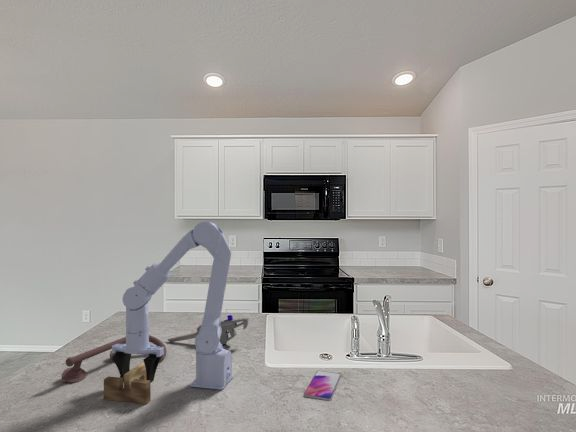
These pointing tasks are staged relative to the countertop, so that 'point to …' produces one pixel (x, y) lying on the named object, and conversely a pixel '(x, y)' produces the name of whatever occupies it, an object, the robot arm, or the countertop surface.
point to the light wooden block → (135, 375)
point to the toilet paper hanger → (78, 373)
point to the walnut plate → (127, 390)
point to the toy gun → (226, 326)
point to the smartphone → (323, 385)
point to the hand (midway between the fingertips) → (137, 380)
